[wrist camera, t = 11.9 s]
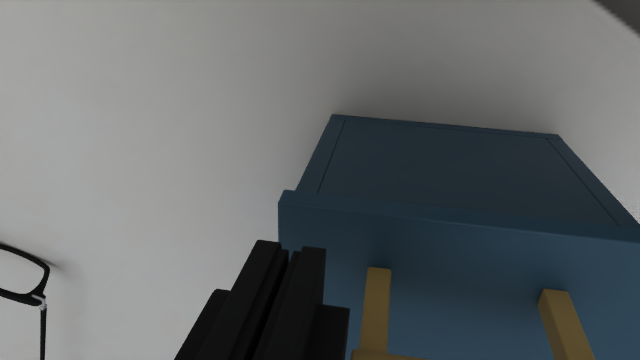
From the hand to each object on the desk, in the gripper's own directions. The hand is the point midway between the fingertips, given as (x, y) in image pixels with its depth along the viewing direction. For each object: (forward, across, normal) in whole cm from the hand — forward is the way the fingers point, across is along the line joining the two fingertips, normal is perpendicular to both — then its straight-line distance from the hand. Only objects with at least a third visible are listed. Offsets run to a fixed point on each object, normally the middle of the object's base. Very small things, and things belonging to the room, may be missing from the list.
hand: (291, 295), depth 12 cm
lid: (+4, -5, +6) cm, 9 cm away
